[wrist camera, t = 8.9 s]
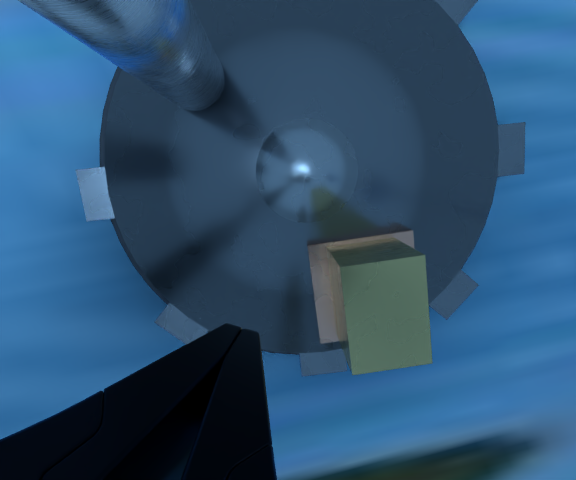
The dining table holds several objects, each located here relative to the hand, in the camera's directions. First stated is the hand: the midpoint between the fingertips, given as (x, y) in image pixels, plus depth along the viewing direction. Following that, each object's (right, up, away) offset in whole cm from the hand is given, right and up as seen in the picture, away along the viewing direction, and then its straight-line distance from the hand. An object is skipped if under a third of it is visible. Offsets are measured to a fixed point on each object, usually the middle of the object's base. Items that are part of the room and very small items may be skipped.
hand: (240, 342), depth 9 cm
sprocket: (+2, +6, +12) cm, 14 cm away
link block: (+5, 0, +11) cm, 12 cm away
